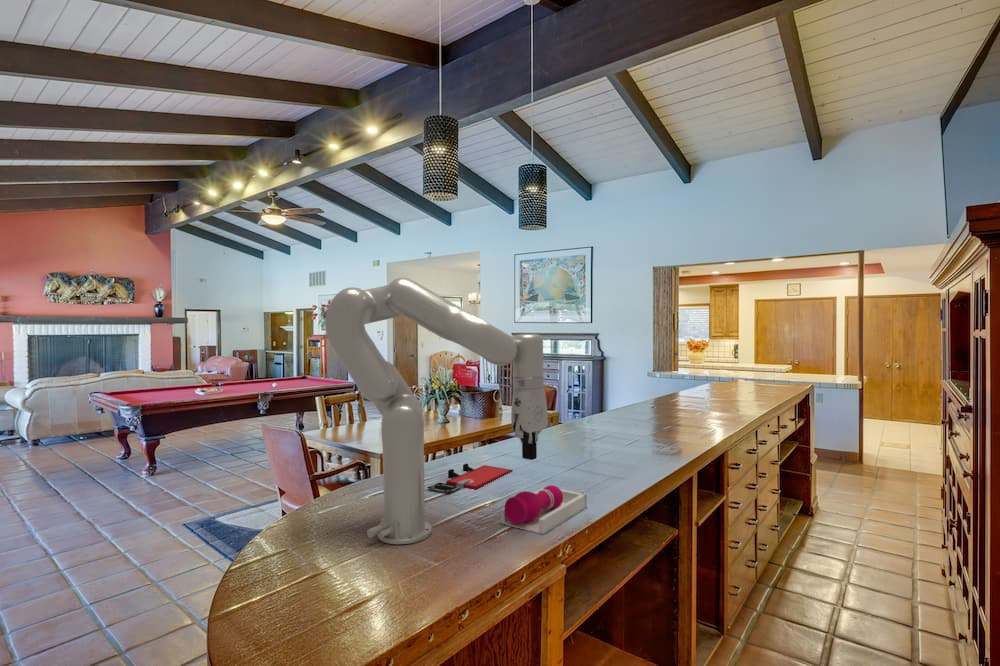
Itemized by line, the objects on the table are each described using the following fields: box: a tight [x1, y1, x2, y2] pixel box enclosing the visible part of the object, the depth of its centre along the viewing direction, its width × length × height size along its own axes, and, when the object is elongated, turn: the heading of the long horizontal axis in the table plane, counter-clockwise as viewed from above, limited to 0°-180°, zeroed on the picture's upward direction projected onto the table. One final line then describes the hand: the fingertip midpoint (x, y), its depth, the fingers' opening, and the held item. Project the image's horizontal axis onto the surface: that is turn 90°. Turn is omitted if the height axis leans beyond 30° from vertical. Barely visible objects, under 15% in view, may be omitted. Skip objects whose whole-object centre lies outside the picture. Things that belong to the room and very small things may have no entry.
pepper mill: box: [504, 484, 563, 524], centre depth 127 cm, size 7×7×20 cm
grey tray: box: [499, 487, 588, 536], centre depth 128 cm, size 22×12×4 cm, turn 143°
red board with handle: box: [426, 463, 514, 494], centre depth 160 cm, size 30×3×15 cm
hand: (529, 458), depth 122 cm, fingers closed
